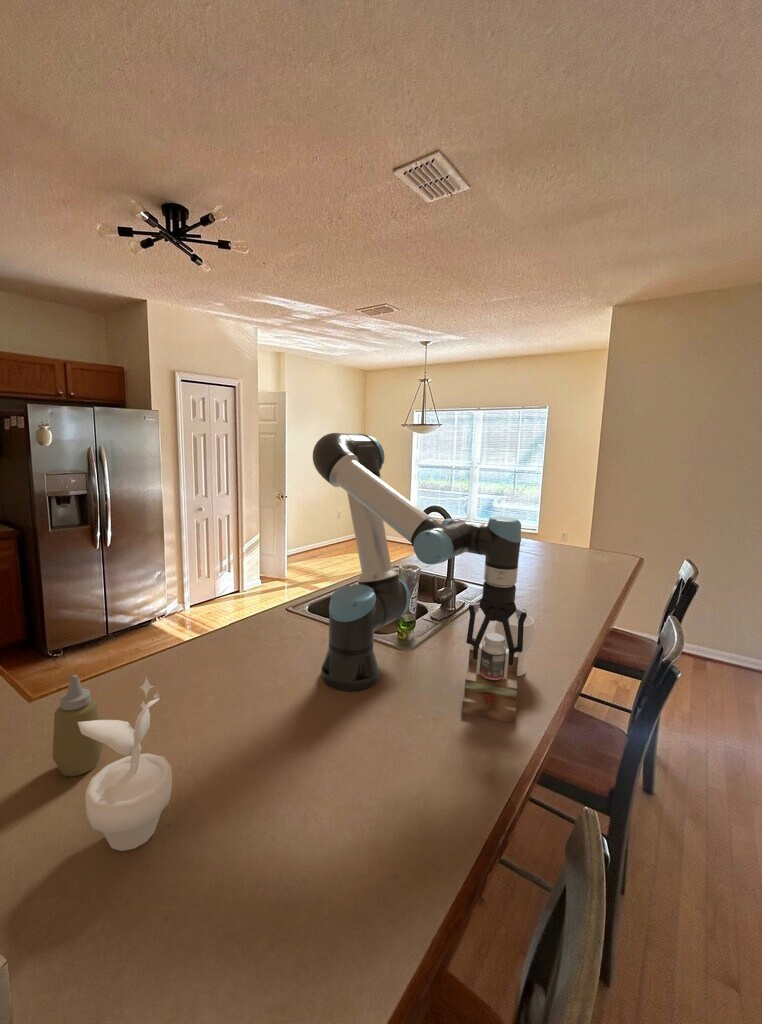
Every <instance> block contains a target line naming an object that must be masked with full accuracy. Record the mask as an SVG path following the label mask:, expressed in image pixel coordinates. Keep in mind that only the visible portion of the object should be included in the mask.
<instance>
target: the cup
mask: <svg viewBox="0 0 762 1024" xmlns="http://www.w3.org/2000/svg"><path fill="white" fill-rule="evenodd" d="M508 620H509V625H510V629H511V634H512V638H513V643H514V645H517V637H518V618H517V617H516V613H514V614H513V615H512V616H511V617H510V618H509V619H508ZM494 633H497V634H500V635H502V636H504V638H505V643H504V646H505V648H506V649H508V644H507V640H506V635H505V631H504V627H503V623H502V622H498V621H495V625H494ZM535 635H536V626H535V621H534V619H533V618H532V617H531V616H529V615H527V617H526V619H525V621H524V628H523V650H522V652H518V667H517V677H522V676H523V675H525V674H526V671H527V670H526V657H527V653H528V651H529V650H530V649H531V647H532V645H533V643H534V640H535V639H536V636H535Z"/></svg>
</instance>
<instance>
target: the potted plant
mask: <svg viewBox="0 0 762 1024" xmlns="http://www.w3.org/2000/svg"><path fill="white" fill-rule="evenodd" d="M143 682H144V683H143V684H142V685H141V686H139V687H138V688H137V689H141V690H142V692H143V693H144V696H145V698H147V697H148V693H149V691H150V690H151V689H152V688H155V687H156V686H155V685H152V684H151V683H150V682H149V680H148V678H147V675H145V680H144V681H143ZM160 696H161V694H159V693H158V692H157V690H156V691H155V694H154V695H153V696H152V698H154V699H153V700H149V701H148V702H147V703H146V704H145V701H144V700H142V703H141V704H140V705H139V707H141V709H142V710H140V712H139V713H138V715H137V718H136V721H135V724H134V728H133V727H132V726H131V724H130V723H129V722H128V721H126V720H125V721H124V720H119V719H100V720H93V721H83V722H78V726H79V728H80V731H81V734H83V735H85V736H87V737H90V738H92V739H94V740H97V741H99V742H102V743H104V745H106V746H108V747H109V748H111V750H113V751H115V752H117V753H118V754H119V755H121V756H122V755H123V756H124V757H122V758H120V759H118V760H115V761H112V762H111V763H109V764H107V765H105V766H104V767H103V768H102V769H100V771H98V772H97V773H95V775H93V776H92V777H91V779H90V780H89V783H88V785H87V787H86V789H85V793H84V794H85V795H84V796H85V797H84V798H85V809H86V810H85V811H86V818H87V819H88V822H89V823H90V826H91V827H92V829H93V830H97V831H100V832H101V833H102V834H103V836H104V837H105V839H106V841H107V842H108V844H109V846H110V848H111V849H113V850H117V851H120V852H124V851H129V850H134V849H136V848H138V847H140V846H142V845H143V844H145V843H147V842H148V841H149V840H150V838H151V837H152V836H153V835H154V834H155V831H156V829H157V826H158V823H159V821H160V817H161V814H162V811H163V810H164V809H165V808H166V806H167V805H169V803H170V801H171V795H172V790H173V778H172V776H173V775H172V773H173V772H172V771H173V770H172V765H171V764H170V762H169V761H168V760H167V759H166V757H165V756H162V755H158V754H153V753H148V752H146V753H141V752H142V746H141V742H142V741H143V740H144V738H145V737H146V735H147V733H148V731H149V729H150V726H151V725H150V724H151V723H150V722H151V713H150V707H152V706H153V705H154V704H156V703H157V702H158V701H160V700H161V699H160ZM130 754H131V755H130ZM126 755H127V756H126Z"/></svg>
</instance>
